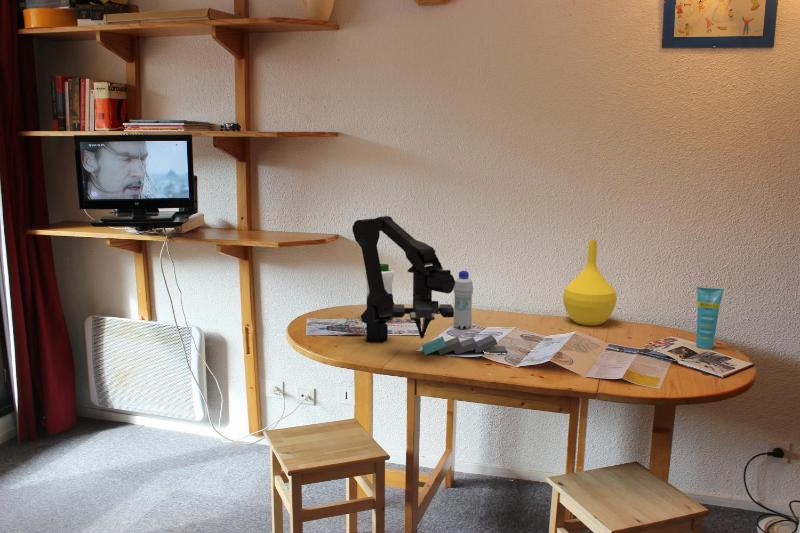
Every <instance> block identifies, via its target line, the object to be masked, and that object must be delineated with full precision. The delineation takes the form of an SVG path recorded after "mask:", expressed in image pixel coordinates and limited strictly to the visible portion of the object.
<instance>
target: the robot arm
mask: <svg viewBox="0 0 800 533" xmlns="http://www.w3.org/2000/svg"><path fill="white" fill-rule="evenodd" d="M351 227H352V228H351V229H352V233H353V237H354V239H355V242H356V243H357V244H358V245H359V247H360V248H361V252H362V253H361V254H362V258H363V263H364V269H365V271H366V275H367V281H368V286H369V295H368V298H367V297H366V309H365V310H364V311H363V313H361V315H360V319H361V322H362V323H364V324H365V325H366V326H365V327H366V328H365V329H366V335H365V337H366V338H365V342H366V343H371V342H374V343H377V342H378V343H379V342H383V343H384V342H385V343H386V342H387V339H388V338H389V336H388V335H389V334H388V332H389V331H388V330H389V326H388V323H387V322H386V320H390V318H391V316H392V317H393V319H394V318H398V319H399V318H403V317H405V315H409V319H410V321H414V324H415V326H416V328H417V330H418V331H417V332H418V334H419V338H420V339H422V340H423V339H424V338H425V334H426V332H427V329H428V326H429V325H430V323H431V321H435V319H436V317H435V315H439V314H440V316H441V317H442V318H454V307H453V306H452V304H448V303H447V304H446V303H444V304H441V303H440V302H439V300H433V292H438V293H442V294H451V293H452V292H454V286H455V280H456V279H455V277H454V276H453V274H451V273H452V272H451V270H450V269H443V266H442V263H441V262H440V260H439V258H438V255H437V254H436V250H435V248H434V247H432V246H431V245H429V244H427V243H426V242H423V241H419V240H417V239H415V238H414V237H413V236H412V235H410V233H408V232H407V231H406V230H405V229H404V228H403V227H402V226H400V225H399V224H398V223H397V222H396V221H394V219H393V218H392V217H391V216H389V215H383V216H377V217H375V218H365V219H357V220H355V221H354V223H353V224H352V226H351ZM380 232H382V233H383V234H384V235H385V236H386V237H388V238H389V239H390V240H391V241H392V242H393V243H395V244H396V245H397V246H398V247H399V248H400V249H401V250H402V251H403V253H404V254H405V257H406V259H407V261H408V262H409V263H410V264H411V266H410V267H409V268H408V269H407V272H408V273H411V274H412V307H405V304H395V302H394V296H393V293H392V294H388V293H387V291H386V290H385V288H384V282H383V277H382V271H381V266H380V264H381V261H380V256H379V251H378V250H379V249H378V243H379V240H380V236H381V235H380ZM439 303H440V304H439ZM421 319H422V323H421ZM390 321H391V320H390Z"/></svg>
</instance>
